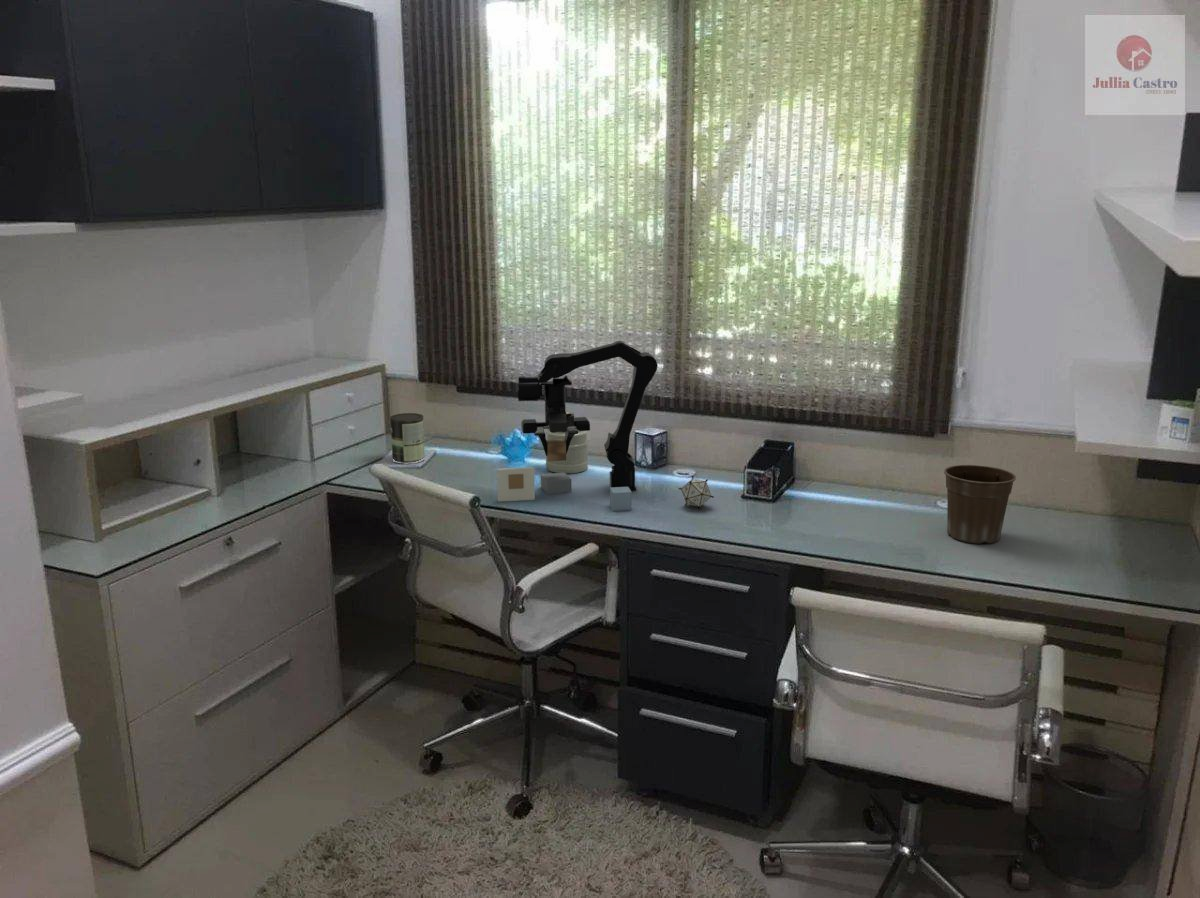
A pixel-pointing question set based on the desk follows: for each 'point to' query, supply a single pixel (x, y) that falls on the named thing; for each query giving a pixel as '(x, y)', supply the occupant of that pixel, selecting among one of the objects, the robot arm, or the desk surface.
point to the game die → (696, 492)
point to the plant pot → (977, 502)
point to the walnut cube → (556, 449)
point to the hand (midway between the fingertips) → (556, 454)
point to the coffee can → (407, 437)
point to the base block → (556, 483)
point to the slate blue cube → (620, 498)
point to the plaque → (515, 484)
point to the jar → (570, 453)
